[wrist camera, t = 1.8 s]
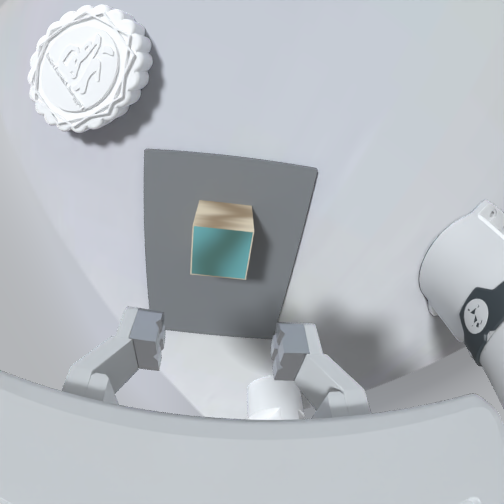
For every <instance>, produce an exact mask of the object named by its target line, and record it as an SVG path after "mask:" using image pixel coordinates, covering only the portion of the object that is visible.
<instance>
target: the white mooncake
mask: <svg viewBox="0 0 504 504" xmlns="http://www.w3.org/2000/svg"><path fill="white" fill-rule="evenodd" d="M144 35H145V28H144V26H143V25H142V24H140V23H137V22H135V20H134V17H133V16H132V15H130V14H128V13H126V12H124V11H122V10H119V9H115V8H112V7H110V6H107V5H98V6H96V7H93V6H90V5H85V6H82V7H81V8H79V9H78V10H77V11H70V12H67V13H66V14H64V15H63V16H62V18H61V19H60V21H57V22H54V23H53V24H51V25H50V26H49V28H48V30H47V33H46V35H45V36H43V37H41V38H40V40H39V41H38V43H37V46H36V50H37V51H36V52H35V53H34V54H33V55H32V57H31V60H30V66H31V68H32V69H31V70H30V72H29V74H28V83H29V84H30V86H31V88H30V98H31V100H32V101H34V102H36V104H35V108H36V111H37V113H38V114H40V115H43V116H44V117H45V121H46V122H47V123H48V124H49V125H52V126H54V125H57V127H58V128H59V129H60V130H61V131H64V132H67V131H70V130H73V131H74V132H76V133H83V132H85V131H87V130H89V129H99V128H101V127H103V126H105V125H107V124H109V123H111V122H112V121H113V119H116V118H118V117H120V116H122V115H124V114H125V113H126V112H127V111H128V109H129V105H131V104H134V103H136V102H137V101H138V100H139V98H140V96H141V89H142V88H144V87H145V86H146V85H147V83H148V81H149V74H148V72H147V71H148V70H149V69H150V68H151V66H152V63H153V59H152V56H151V55H150V54H149V51H150V50H151V41H150V39H149V38H147V37H145V36H144Z"/></svg>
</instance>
